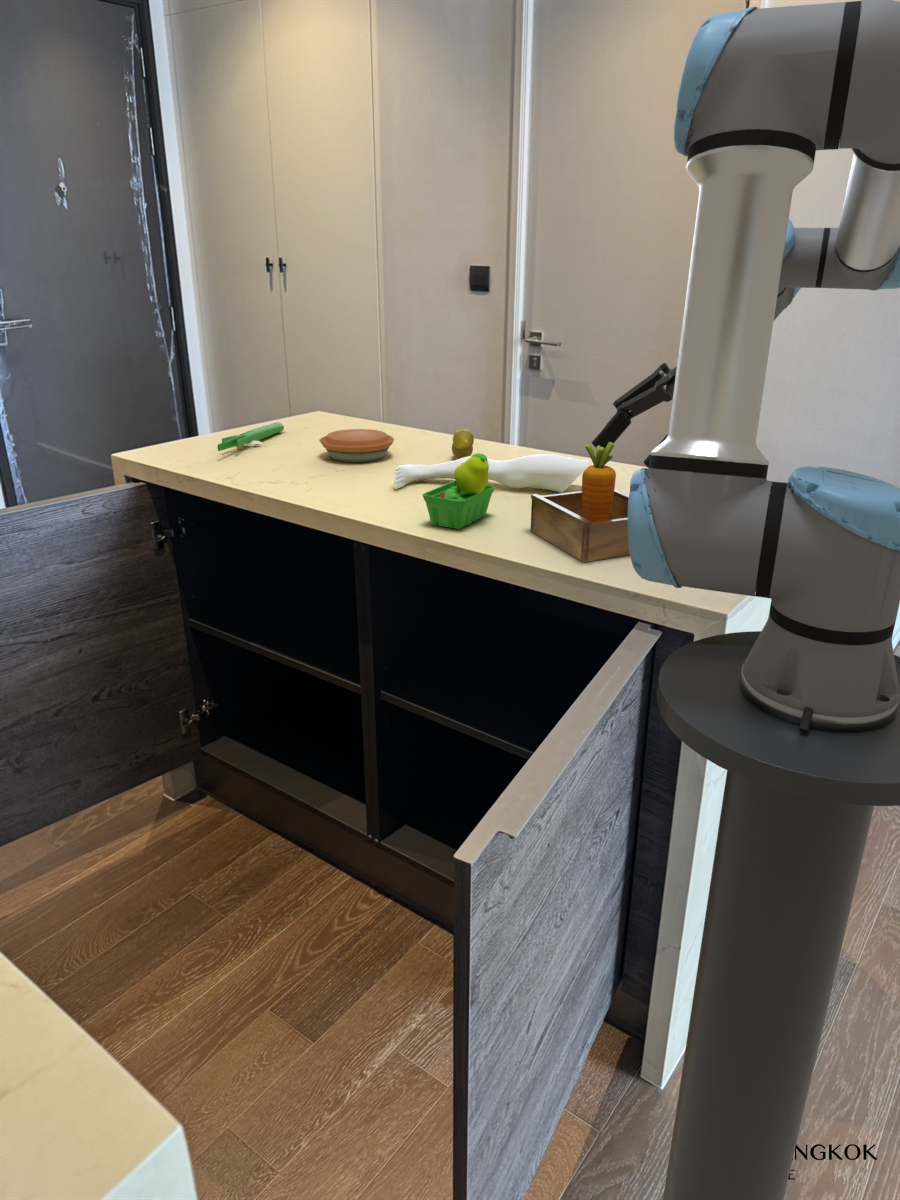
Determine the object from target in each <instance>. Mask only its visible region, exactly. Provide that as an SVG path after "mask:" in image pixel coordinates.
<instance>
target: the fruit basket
mask: <svg viewBox="0 0 900 1200" xmlns="http://www.w3.org/2000/svg"><path fill="white" fill-rule="evenodd" d="M471 456H472V457H471V458H469V459H468V460H467V461H465V462H463V463H462V464H460V466H458V467H457V468H456V469H455V471H454V477H455V479H454V480H452V481H450V482H447V483H446V484H445V483H444V484H443V485H441V486H438V487H436V488H434V489H431V490H429V491H426V492H424V493H422V498H423V500H424V502H425V505H426V509H427V512H428V516H429V520H430V523H431V525H434V526H440V527H444V528H451V529H455V530H460V529H462V528H464V527H465V526H466V527H467V526H468V525H470V524H472V523H474V522H477V521H478V520H479V519H482V518H484V517H486V514H487V511H488V508H489V505H490V501H491V498H492V494H493V493H494V491H495V488H496V486H495V485H491V484H488V482H489V479H488V470H489V464H488V462H487V460H488V459H487V458H488V457H487V456H486V454H484V453H479V452H476V453H474V454H471Z"/></svg>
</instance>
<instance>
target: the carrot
mask: <svg viewBox="0 0 900 1200" xmlns="http://www.w3.org/2000/svg"><path fill="white" fill-rule="evenodd" d="M614 447H615V445H614V444H613V443H612V442H609V443H608V445H607V446H606V448H603V447H600V446H597V447H596V448H595V450H594V449H593V447H592V446H591V444H589V443H587V444H586V445H584V448H585V450H586V451H587V453H588V455H589V456H590V459H591V462H592V465H589V466H588V465H587V467H586V468H585V469H584V470H583V472H582V476H581V491H582V508H583V515H584V518H585V519H587V520H589V521H591V522H600V521H607V520H608V517H609V514H610V511H611V507H612V502H613V496H614V489H616V488H615V487H616V480H617V473H616V470H615V468H613V467H611V466H608V465H607V463H609V462H610V461H611V460H613V458H614V456H613V454H611V453H612V451H613V449H614ZM604 449H605V450H604ZM594 451H595V452H594ZM603 451H604V452H603ZM602 453H603V454H602ZM610 454H611V455H610Z"/></svg>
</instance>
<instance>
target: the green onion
mask: <svg viewBox="0 0 900 1200" xmlns="http://www.w3.org/2000/svg"><path fill="white" fill-rule="evenodd" d="M284 429H285V426H284V424H283V423H281V422H274V423H273V422H272V423H271V424H266V425H263V426H260V427H256V428H253V429H249V430H247V431H245V432H243V433H240V434H236V435H232V436H227V437H221V442H219V443H218V444H217V451H218V452H222V451H224V450H228V449H231V448H235V447H236V448H237V449H239V448H240V447H251V448H252V447H254V446H256V445H260V444H261V445H263V444H264V443H263V441H260V440H263V439H266V438H268V437H269V438H270V437H271V436H273V435H276V434H279V433H282V432H283V431H284Z"/></svg>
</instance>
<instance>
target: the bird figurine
mask: <svg viewBox="0 0 900 1200" xmlns="http://www.w3.org/2000/svg"><path fill="white" fill-rule="evenodd" d="M474 442H475V438H474V435H473V433H472V431H471V430H469V429H467V428H461V429H458V430H456V431H455V432H454V433H453V436H452V445H451V452H452V455H453V456H454V457H455V458H456V459H457V460H458V459H460V458H464V457H468V456H472V455H473V451H474V446H473V445H474Z"/></svg>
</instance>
